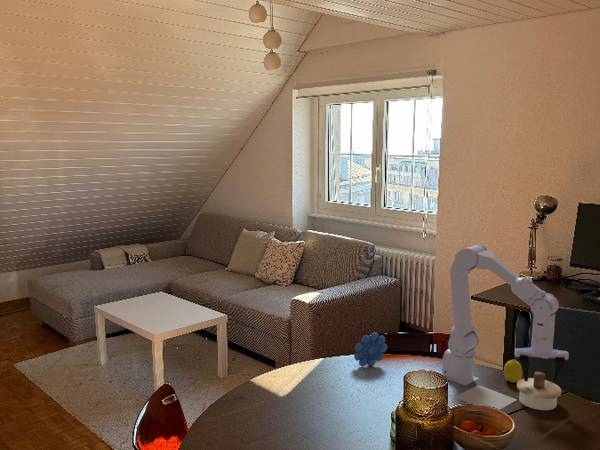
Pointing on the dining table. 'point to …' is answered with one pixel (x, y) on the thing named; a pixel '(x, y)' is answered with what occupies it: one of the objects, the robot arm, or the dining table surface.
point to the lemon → (513, 371)
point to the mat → (485, 397)
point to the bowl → (537, 402)
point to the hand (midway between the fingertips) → (539, 380)
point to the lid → (539, 387)
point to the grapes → (370, 349)
